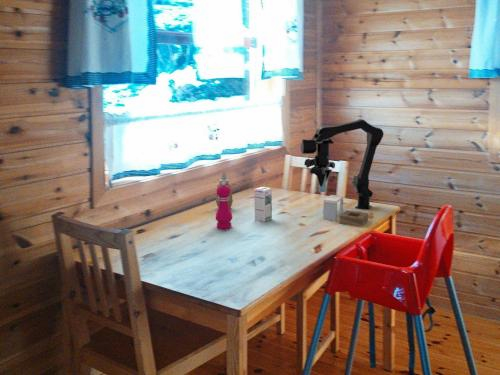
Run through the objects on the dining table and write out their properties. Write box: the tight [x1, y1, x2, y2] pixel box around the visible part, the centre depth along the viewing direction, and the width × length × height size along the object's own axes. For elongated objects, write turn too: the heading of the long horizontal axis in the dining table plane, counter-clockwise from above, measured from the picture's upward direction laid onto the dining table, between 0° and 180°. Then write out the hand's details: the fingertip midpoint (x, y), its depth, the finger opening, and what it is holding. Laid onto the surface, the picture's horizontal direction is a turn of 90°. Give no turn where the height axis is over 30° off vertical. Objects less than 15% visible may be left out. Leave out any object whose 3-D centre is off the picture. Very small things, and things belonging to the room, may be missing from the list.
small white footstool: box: [322, 194, 344, 221], centre depth 255 cm, size 10×6×9 cm, turn 153°
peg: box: [318, 177, 327, 193], centre depth 265 cm, size 3×3×8 cm
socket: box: [339, 210, 369, 227], centre depth 247 cm, size 10×10×4 cm
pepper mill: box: [215, 182, 233, 230], centre depth 238 cm, size 7×7×20 cm
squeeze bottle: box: [215, 171, 234, 210], centre depth 267 cm, size 8×8×18 cm
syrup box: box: [253, 186, 273, 222], centre depth 250 cm, size 6×6×14 cm
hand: (322, 185), depth 266 cm, fingers closed on peg, 3 cm apart
